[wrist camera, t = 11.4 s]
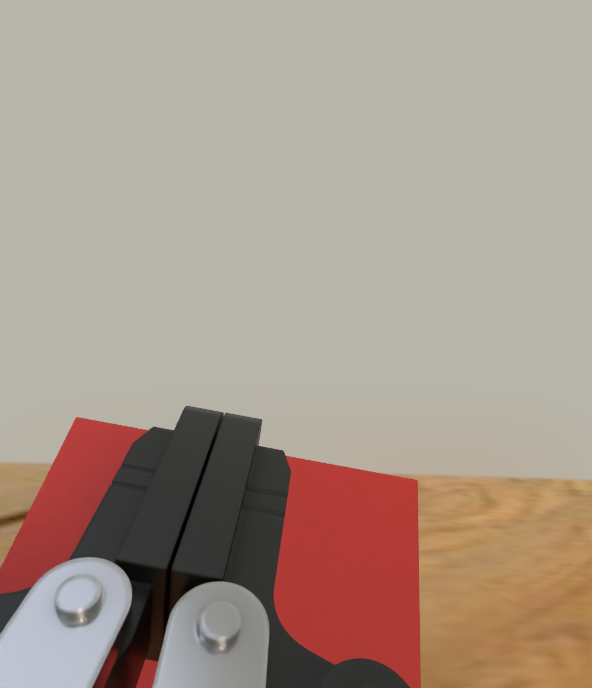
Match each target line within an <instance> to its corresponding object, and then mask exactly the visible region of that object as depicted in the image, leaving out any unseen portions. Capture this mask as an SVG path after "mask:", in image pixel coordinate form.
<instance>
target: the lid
mask: <svg viewBox="0 0 592 688" xmlns="http://www.w3.org/2000/svg"><path fill="white" fill-rule="evenodd" d="M147 431H149V430H143V429H138V428H133V427H127V426H122V425H116V424H111V423H106V422H100V421H95V420H89V419H84V418H78V417H77V418H76V419H75V421H74V423H73V425H72V427H71V429H70V431H69V433H68V435H67V437H66V439H65V441H64V443H63V445H62V447H61V449H60V451H59V453H58V455H57V457H56V459H55V461H54V463H53V465H52V467H51V469H50V471H49V473H48V475H47V477H46V479H45V481H44V483H43V485H42V487H41V489H40V491H39V492H38V494H37V496H36V498H35V500H34V502H33V504H32V506H31V508H30V510H29V512H28V514H27V516H26V518H25V520H24V522H23V524H22V526H21V528H20V530H19V532H18V534H17V536H16V538H15V540H14V542H13V544H12V546H11V548H10V550H9V552H8V554H7V556H6V558H5V560H4V562H3V564H2V566H1V568H0V594H3V593H10V592H15V591H19V590H23V589H26V588H29V587H31V586H33V585H34V584H35V583H36V582H37V580H38V579H40V578H41V577H42V576H43V575H44V574H45V573H46V572H48V571H49V570H50V569H52V568H54V567H55V566H57V565H59V564H61V563H64V562H66V561H68V560H69V558H70V557H71V555H72V554H73V552H74V550H75V548H76V547H77V545H78V543H79V541H80V539H81V537H82V536H83V534H84V532H85V530H86V528H87V526H88V525H89V523H90V521H91V519H92V517H93V515H94V514H95V512H96V510H97V508H98V506H99V504H100V502H101V501H102V499H103V497H104V495H105V493H106V491H107V490H108V488H109V486H110V485H112V480H113V479H114V477H115V475H116V473H117V471H118V469H119V468H121V466H122V462H123V460H124V458H125V457H126V455H127V453H128V451H129V449H130V447H131V446H132V444H133V442H134V441H136V440H137V439H138V438H140V437H141V436H142V435H143V434H145V433H146V432H147ZM286 459H287V461H288V464H289V467H290V469H291V478H290V484H289V491H288V497H287V505H286V512H285V518H284V525H283V532H282V539H281V546H280V552H279V559H278V566H277V573H276V579H275V586H274V605H275V609H276V613H277V615H278V618H279V620H280V622H281V624H282V625H283V627H284V628H285V630H286V631H287V632H288V633H289V635H290V636H291V637H292V638H293V639H294V640H295V641H297V642H298V643H299V644H300V645H302V646H303V647H305V648H306V649H308V650H310V651H311V652H313V653H315V654H317V655H318V656H320V657H322V658H324V659H326V660H327V661H329V662H331V663H333V664H334V665H336V664H338V663H340V662H342V661H344V660H349V659H353V658H364V659H371V660H374V661H377V662H380V663H382V664H384V665H386V666H388V667H389V668H391V669H392V670H393V671H395V672H396V673H397V674H398V675H399V676H400V677H402V678H403V680H404V681H405V682H406V683H407V684H408V686H409V687H410V688H421V679H420V614H419V549H418V483H417V480H413V479H408V478H402V477H397V476H392V475H386V474H381V473H375V472H370V471H365V470H359V469H354V468H349V467H343V466H338V465H332V464H327V463H321V462H316V461H311V460H305V459H299V458H295V457H289V456H286ZM157 666H158V662H157V661H152V660H147V659H145V662H144V665H143V668H142V671H141V674H140V677H139V680H138V683H137V686H136V688H152V687H153V683H154V679H155V674H156V670H157Z"/></svg>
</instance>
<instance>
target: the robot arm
mask: <svg viewBox="0 0 592 688" xmlns="http://www.w3.org/2000/svg"><path fill="white" fill-rule="evenodd" d="M261 425H262V419H257V418H251V417H246V416H240V415H235V414H230V413H225V415H224V414H223V412H218V411H213V410H207V409H202V408H196V407H191V406H186V407H185V408H184V410H183V412H182V414H181V416H180V419H179V421H178V423H177V425H176V427H175V430H169V429H163V428H158V427H153V428H151V429H150V430H149V431H147V432H146V433H145V434H143V435H142V436H141V437H140V438H138V439H137V440H136V441H134V442H133V444H132V446H131V447H130V449H129V451H128V453H127V455H126V457H125V458H124V460H123V462H122V466H121V468H119V469H118V471H117V473H116V475H115V477H114V479H113V480H112V485H110V486H109V488H108V490H107V491H106V493H105V495H104V497H103V499H102V501H101V502H100V504H99V506H98V508H97V510H96V512H95V514H94V515H93V517H92V519H91V521H90V523H89V525H88V526H87V528H86V530H85V532H84V534H83V536H82V537H81V539H80V541H79V543H78V545H77V547H76V548H75V550H74V552H73V554H72V555H71V557H70V558H69V560H68V561H66V562H64V563H61V564H59V565H57V566H55V567H54V568H52V569H50V570H49V571H48V572H46V573H45V574H44V575H43V576H42V577H41V578H40V579H38V580H37V582H36V583H35V584H34V585H33V586H31V587H29V588H26V589H23V590H19V591H15V592H10V593H3V594H0V688H136V686H137V683H138V680H139V677H140V674H141V671H142V668H143V665H144V662H145V659H147V660H152V661H157V662H158V666H157V670H156V674H155V679H154V683H153V687H152V688H410V687H409V686H408V684H407V683H406V682H405V681H404V680H403V678H402V677H400V676H399V675H398V674H397V673H396V672H395V671H393V670H392V669H391V668H389V667H388V666H386V665H384V664H382V663H380V662H377V661H374V660H371V659H364V658H353V659H349V660H344V661H342V662H340V663H338V664H336V665H334V664H333V663H331V662H329V661H327V660H326V659H324V658H322V657H320V656H318V655H317V654H315V653H313V652H311V651H310V650H308V649H306V648H305V647H303V646H302V645H300V644H299V643H298V642H297V641H295V640H294V639H293V638H292V637H291V636H290V635H289V633H288V632H287V631H286V630H285V628H284V627H283V625H282V624H281V622H280V620H279V618H278V615H277V613H276V609H275V605H274V586H275V579H276V573H277V566H278V559H279V552H280V546H281V539H282V532H283V525H284V518H285V512H286V505H287V497H288V491H289V484H290V478H291V469H290V467H289V464H288V461H287V459H286V456H285V453H284V451H283V450H277V449H272V448H266V447H261V446H258V444H259V438H260V432H261Z"/></svg>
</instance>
